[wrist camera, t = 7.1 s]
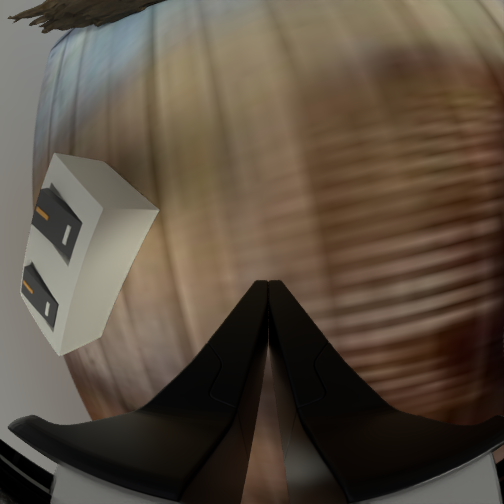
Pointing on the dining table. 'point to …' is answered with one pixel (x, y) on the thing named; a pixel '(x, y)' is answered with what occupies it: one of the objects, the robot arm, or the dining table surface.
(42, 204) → the rocker
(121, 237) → the box
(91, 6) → the driftwood
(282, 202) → the dining table surface
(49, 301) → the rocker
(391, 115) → the dining table surface
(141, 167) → the dining table surface
